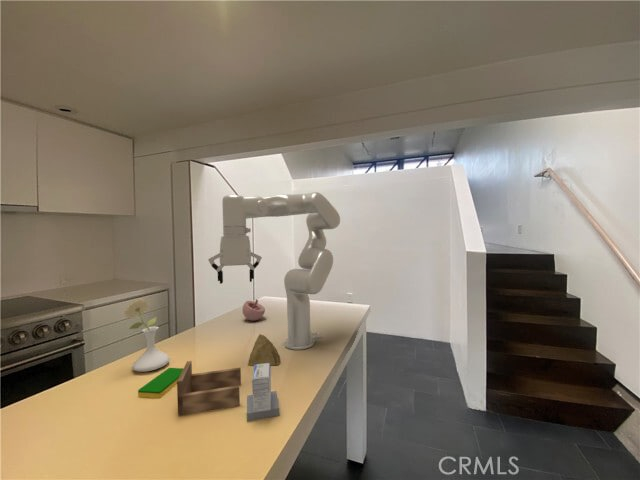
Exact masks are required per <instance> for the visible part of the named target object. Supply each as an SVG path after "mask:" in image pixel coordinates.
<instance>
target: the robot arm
mask: <svg viewBox="0 0 640 480" xmlns="http://www.w3.org/2000/svg"><path fill="white" fill-rule="evenodd" d="M221 203H222V204H221V205H222V235H223V236H222V235H221V236H220V244H219V252H218V253H217V254H215V255H214V256H212V257H211V256H210V258H208V259H207V260H208V263H209V264H210V266H211V268H213V269H214V270H215V271H216V272H217V282H219V284H223V282H224V272H223V270H222V269H223V268H224V267H231V266H245V265H246V266H247V267H248V268H249V282H250V283H252V282H253V280H254V278H255V275H254V274H255V269H256V268H257V267H258V266H259V264H260V262H261V260H262V257H263V256H261V255H258V254H257V253H254V252H253V251H252V250H251V242H250V237H249V235H247V234H248V233H251V231H252V230H251V228H249V227H247V220H249V219H257V218H266V217H267V218H270V217H271V218H273V217H276V218H277V217H287V216H288V217H290V216H297V215H306V214H307V217H306V218H305V219H306V221H305V222H306V227H307V230H308V239H307V240H306V243H305V245H304V247H303V249H302V250H301V252H300V254H299V256H298V260H297V261H298V262H297V263H298V266H299V267H300V268H293V269H290V270H288V271H287V272H286V273H285V276H284V279H283V283H284V289H285V294H286V303H287V304H286V305H287V315H286V316H287V339H285V340H284V342H283V343H284V345H283V346H285V347H286V348H287V349H289V350H295V351H296V350H297V351H298V350H306V349H309V348H311V347H313V346H314V345H315V339H323V335H322V333H318V332H312V330H311V301H310V297H309V295H317V294H318V293H320V292H321V291H322V289H323V288H324V285H325V283H326V281H327V279H328V277H329V275H330V273H331V270H332V269H333V264H334V255H333V253H332V252H331V251H330V250H329V249H328V248H326V246H327V236H325V232H324V230H334V229H336V228H338V227H339V226H340V223H341V216H340V214H339V212H338V210H337V209H336V207H334V206H333V205H332V203H331V202H330V200H328V199H327V197H325V196H324V195H323V194H322V193H320V192H316V191H315V192H308V193H301V194H300V193H299V194H280V195H279V194H277V195H272V196H269V197H262V196H258V195H254V196H243V195H239V194H238V195H237V194H231V195H230V194H229V195H225V196H223V197H222V201H221ZM252 258H254V259H256V260H255V262H254V263H253V264H252V263H251V262H252ZM217 259H219V264H220V265H219V266H218V264H216V262H215V260H217Z"/></svg>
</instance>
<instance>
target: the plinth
mask: <svg viewBox="0 0 640 480" xmlns="http://www.w3.org/2000/svg"><path fill="white" fill-rule="evenodd" d="M279 416H280V404H279V398H278V393H277V390H273V391H272V390H271V410H267V411H261V412H253V395H252V394H247V396H246V422H252V421H257V420H258V421H259V420H262V419H263V420H264V419H268V418H275V417H279Z"/></svg>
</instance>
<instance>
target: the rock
mask: <svg viewBox="0 0 640 480" xmlns="http://www.w3.org/2000/svg"><path fill="white" fill-rule="evenodd" d="M248 358H249V359H248V363H247V366H253V367H254V365H257V364H264V363H270V366H278V365H280V364H281V357H280V354H279V352H278V350H277V349H276V347H275V345H274V344H273V342H271V341H270V339H268V338H267V336H265V335H264V334H260V333H259V335H258V337H257V338H256V340H255V341H254V344H253V348H252V350H251V352H250V355H249V357H248Z"/></svg>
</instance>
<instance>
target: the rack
mask: <svg viewBox="0 0 640 480" xmlns="http://www.w3.org/2000/svg"><path fill="white" fill-rule="evenodd" d="M183 368H184V369H183V371H182V373H181V375H180V377H179V379H178V381H177V385H176V391H177V393H176V396H177V398H176V399H177V416H178V417H181V416H188V415H193V414H199V413H205V412H211V411H218V410H223V409H228V408H235V407H240V405H241V402H240V401H241V399H240V397H241V396H240V386H241V385H242V375H241V373H242V372H241V370H242V368H241V367H234V368H227V369H220V370H213V371H211V370H210V371H204V372H198V373H197V372H196V373H193V367H192V360H188V361H186V363H185V365H184V366H183Z"/></svg>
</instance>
